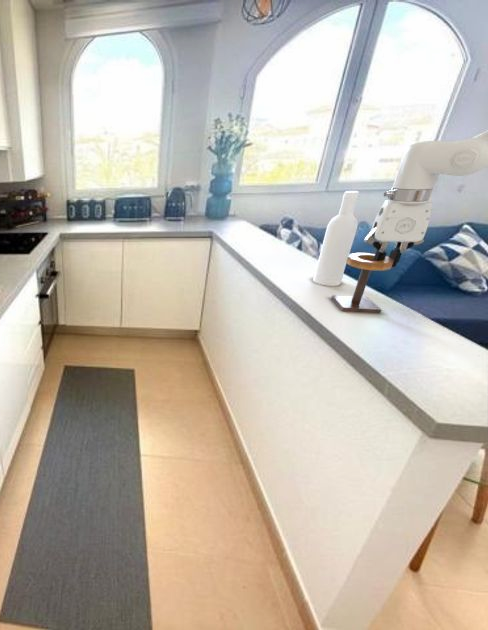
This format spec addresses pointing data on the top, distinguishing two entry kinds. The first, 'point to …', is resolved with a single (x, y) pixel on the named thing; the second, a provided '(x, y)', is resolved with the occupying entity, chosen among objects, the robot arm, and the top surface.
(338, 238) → the bottle
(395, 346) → the top surface
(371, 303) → the wooden peg stand
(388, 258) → the ring
